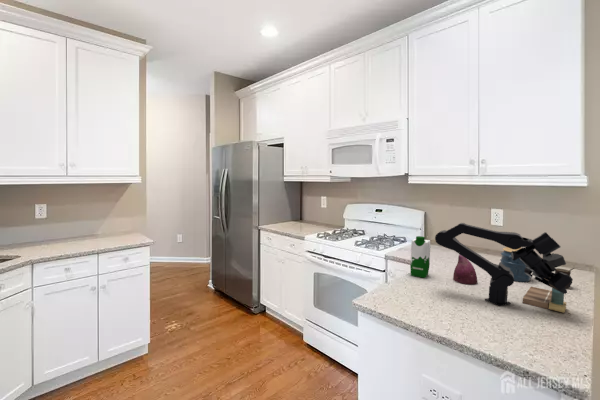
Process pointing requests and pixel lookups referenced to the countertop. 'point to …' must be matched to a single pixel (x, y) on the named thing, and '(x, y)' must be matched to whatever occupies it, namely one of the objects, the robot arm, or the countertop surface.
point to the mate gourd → (565, 273)
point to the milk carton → (420, 257)
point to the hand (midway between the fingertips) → (562, 291)
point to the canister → (514, 265)
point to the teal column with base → (557, 301)
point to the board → (538, 297)
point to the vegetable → (464, 272)
